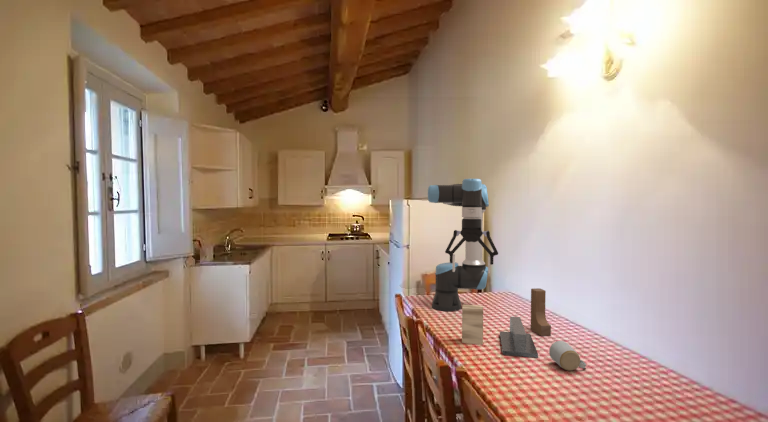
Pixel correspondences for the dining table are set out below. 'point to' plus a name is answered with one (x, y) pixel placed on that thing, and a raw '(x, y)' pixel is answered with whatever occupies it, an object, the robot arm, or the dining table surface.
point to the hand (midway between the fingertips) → (471, 272)
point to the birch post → (472, 324)
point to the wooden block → (539, 313)
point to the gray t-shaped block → (517, 340)
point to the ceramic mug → (565, 356)
